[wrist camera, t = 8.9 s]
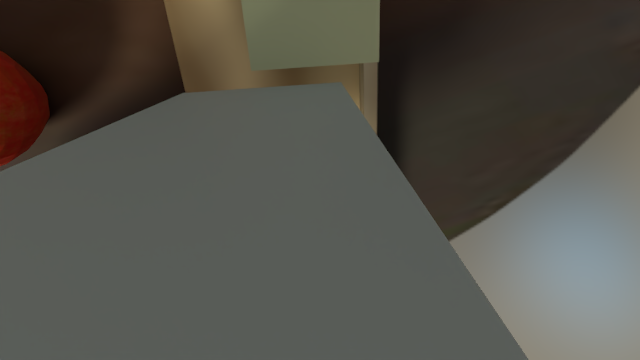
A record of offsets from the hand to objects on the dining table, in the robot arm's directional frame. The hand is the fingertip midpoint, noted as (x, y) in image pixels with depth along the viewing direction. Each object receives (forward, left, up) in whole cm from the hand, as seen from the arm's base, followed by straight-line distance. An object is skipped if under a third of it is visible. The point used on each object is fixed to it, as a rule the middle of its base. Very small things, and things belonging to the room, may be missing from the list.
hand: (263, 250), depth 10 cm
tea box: (0, 0, -4) cm, 4 cm away
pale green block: (+2, +8, -13) cm, 15 cm away
